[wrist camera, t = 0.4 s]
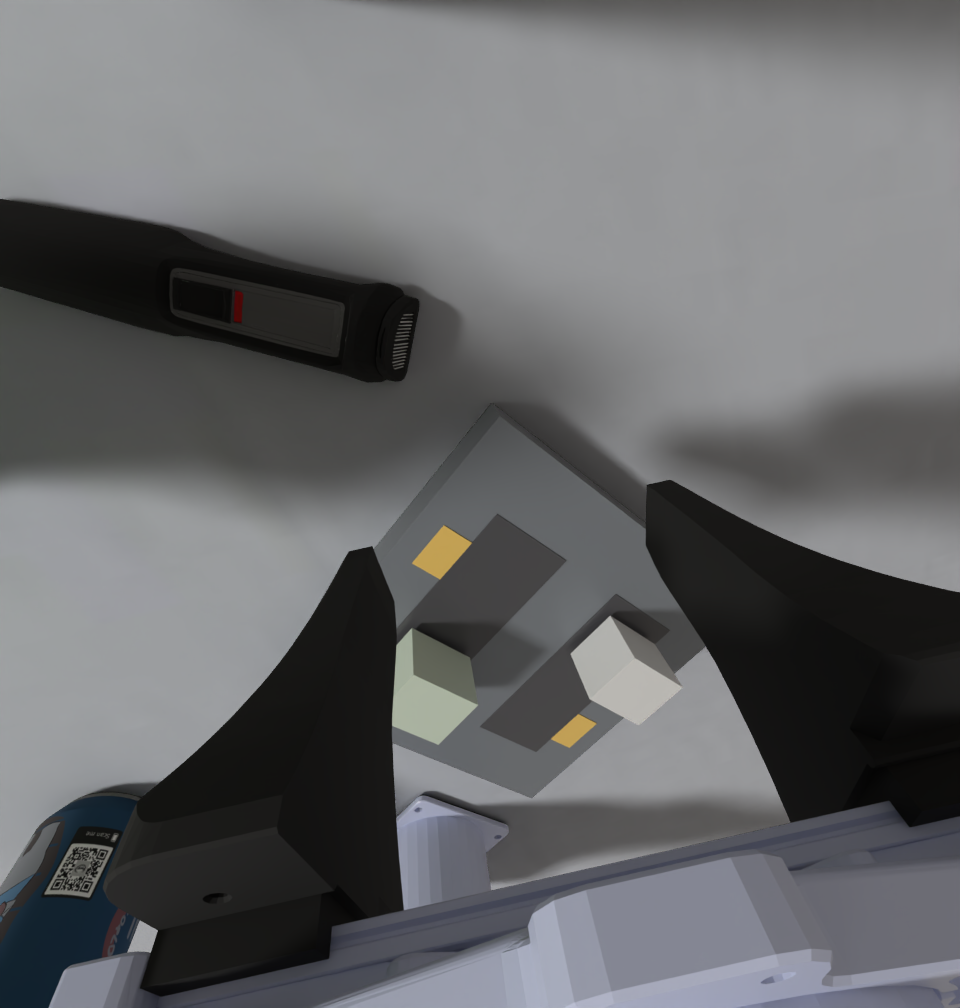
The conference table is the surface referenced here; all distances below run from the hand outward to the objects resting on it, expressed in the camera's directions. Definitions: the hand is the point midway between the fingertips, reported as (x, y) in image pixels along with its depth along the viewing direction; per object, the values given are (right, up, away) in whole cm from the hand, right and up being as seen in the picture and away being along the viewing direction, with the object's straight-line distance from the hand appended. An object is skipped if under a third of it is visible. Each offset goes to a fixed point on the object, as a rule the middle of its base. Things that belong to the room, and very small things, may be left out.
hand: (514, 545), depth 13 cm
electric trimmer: (-11, +9, +6) cm, 15 cm away
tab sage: (-4, -7, +12) cm, 14 cm away
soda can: (-23, -18, +18) cm, 34 cm away
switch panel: (+1, -6, +15) cm, 16 cm away
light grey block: (+6, -7, +13) cm, 16 cm away
